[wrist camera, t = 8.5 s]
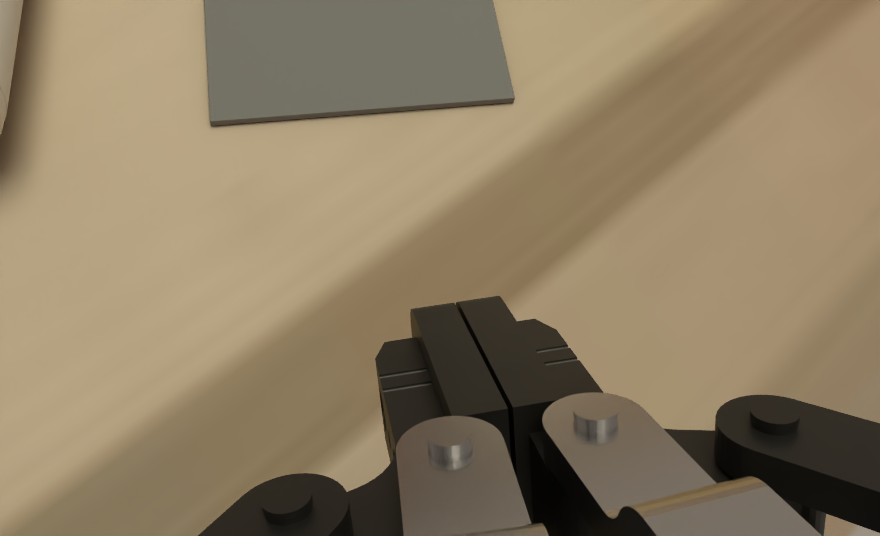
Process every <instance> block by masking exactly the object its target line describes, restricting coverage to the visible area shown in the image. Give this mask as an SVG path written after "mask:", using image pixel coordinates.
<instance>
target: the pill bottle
mask: <svg viewBox="0 0 880 536" xmlns="http://www.w3.org/2000/svg"><path fill="white" fill-rule="evenodd" d="M22 6H23V0H0V134H1V132H2V129H3V125H4V121H5V118H6V115H7V109H8V102H9V95H10V88H11V81H12V75H13V68H14V61H15V54H16V47H17V40H18V34H19V27H20V20H21V13H22Z"/></svg>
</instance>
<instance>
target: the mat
mask: <svg viewBox="0 0 880 536" xmlns="http://www.w3.org/2000/svg"><path fill="white" fill-rule="evenodd" d="M204 6H205V26H206V47H207V67H208V88H209V108H210V123H211V126H215V125H228V124H241V123H254V122H267V121H280V120H292V119H305V118H318V117H331V116H344V115H357V114H369V113H382V112H395V111H408V110H421V109H434V108H446V107H459V106H472V105H485V104H498V103H511V102H514V99H515V97H514V92H513V88H512V83H511V79H510V75H509V70H508V66H507V61H506V57H505V53H504V48H503V44H502V39H501V35H500V30H499V26H498V22H497V17H496V13H495V8H494V4H493V0H204Z"/></svg>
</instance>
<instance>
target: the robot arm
mask: <svg viewBox="0 0 880 536" xmlns="http://www.w3.org/2000/svg"><path fill="white" fill-rule="evenodd" d="M410 316H411V329H412V338H409V339H402V340H396V341H389V342H385V343H384V344H383V346H382V348H381V350H380V351H379V353H378V355H377V357H376V358H375V360H376V368H377V376H378V384H379V392H380V400H381V408H382V416H383V424H384V432H385V439H386V444H387V448H388V453H389V457H390V462H391V463H390V465H389V466H388V467H387V468H386V470H385V471H384V472H383V473H381V474H380V475H379V476H378V477H376V478H375V479H373V480H372V481H370V482H368V483H367V484H365V485H363V486H360V487H358V488H356V489H354V490H351V491H349V492H346V490H345V489H344V488H343V486H342V485H341V484H339V483H338V482H337V481H335V480H333V479H331V478H329V477H326V476H323V475H318V474H308V473H303V474H291V475H285V476H281V477H277V478H274V479H271V480H269V481H266V482H264V483H262V484H260V485H258V486H256V487H254V488H253V489H251V490H250V491H248V492H247V493H246V494H244V495H243V496H242V497H241V498H240V499H239V500H238V501H236V502H235V503H234V504H233V505H232V506H231V507H230V508H229V509H227V510H226V511H225V512H224V513H223V514H222V515H221V516H220V517H218V518H217V519H216V520H215V521H214V522H213V523H212V524H211V525H209V526H208V527H207V528H206V529H205V530H204V531H203V532H202V533H200V534H199V535H198V536H824V527H825V518H826V514H829V515H832V516H835V517H837V518H840V519H843V520H846V521H848V522H851V523H854V524H857V525H859V526H862V527H865V528H868V529H871V530H873V531H876V532H879V533H880V424H879V423H876V422H872V421H869V420H865V419H862V418H858V417H855V416H851V415H847V414H844V413H840V412H837V411H833V410H830V409H826V408H823V407H819V406H816V405H812V404H808V403H805V402H801V401H798V400H794V399H790V398H786V397H780V396H773V395H750V396H744V397H739V398H736V399H733V400H730V401H728V402H727V403H725V404H724V405H722V406H721V407H720V408H719V410H718V411H717V414H716V422H715V431H705V430H672V429H663V428H662V427H661V426H660V425H659V424H658V423H657V422H656V421H655V420H654V419H653V418H652V417H651V416H650V415H649V414H648V413H647V412H646V411H645V410H644V409H643V408H642V407H641V406H640V405H639V404H637V403H635V402H634V401H632V400H629V399H627V398H624V397H621V396H618V395H613V394H608V393H603V391H602V390H601V389H600V387H599V386H598V385H597V383H596V382H595V381H594V379H593V378H592V377H591V375H590V374H589V373H588V371H587V370H586V369H585V367H584V366H583V365H582V363H581V362H580V361H579V360H578V361H577V357H576V355H575V354H574V353H573V351H572V350H571V349H570V348H568V345H567V343H566V342H565V341H564V339H563V338H562V337H561V335H560V334H559V333H558V331H557V330H556V329H554V328H552V327H550V326H548V325H546V324H544V323H542V322H540V321H538V320H536V319H530V320H524V321H516V320H515V318H514V317H513V315H512V314H511V312H510V310H509V309H508V307H507V306H506V304H505V303H504V301H503V300H502V298H501V297H500V296H494V297H488V298H481V299H474V300H468V301H461V302H456V305H455V303H449V304H442V305H435V306H429V307H422V308H415V309H411V312H410Z"/></svg>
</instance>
